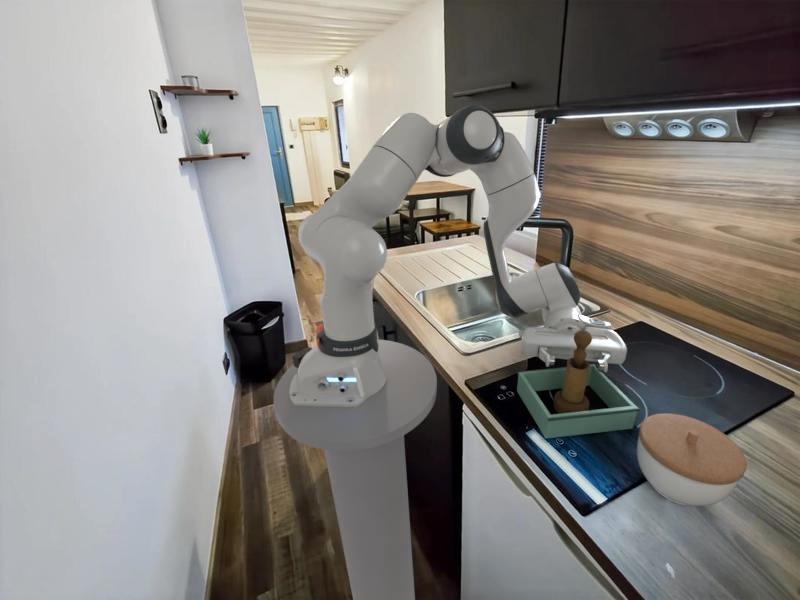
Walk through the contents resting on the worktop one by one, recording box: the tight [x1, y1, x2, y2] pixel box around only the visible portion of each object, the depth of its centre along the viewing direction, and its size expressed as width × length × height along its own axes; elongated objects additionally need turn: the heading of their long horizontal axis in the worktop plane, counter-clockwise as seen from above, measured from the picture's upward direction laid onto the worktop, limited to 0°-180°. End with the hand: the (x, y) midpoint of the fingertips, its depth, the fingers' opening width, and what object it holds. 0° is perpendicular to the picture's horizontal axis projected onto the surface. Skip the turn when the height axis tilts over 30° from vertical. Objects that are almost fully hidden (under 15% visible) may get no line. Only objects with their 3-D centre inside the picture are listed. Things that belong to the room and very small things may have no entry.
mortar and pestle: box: [552, 330, 592, 414], centre depth 71 cm, size 7×6×18 cm
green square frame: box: [516, 363, 640, 439], centre depth 73 cm, size 17×14×5 cm
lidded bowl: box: [636, 412, 748, 507], centre depth 55 cm, size 13×13×11 cm
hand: (576, 366), depth 71 cm, fingers open, 8 cm apart
